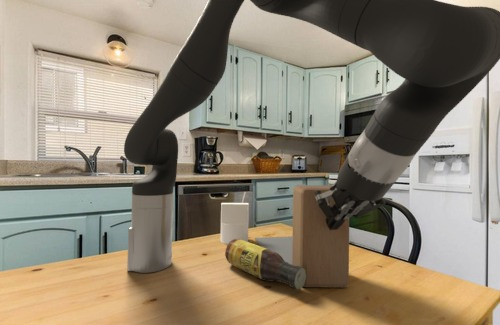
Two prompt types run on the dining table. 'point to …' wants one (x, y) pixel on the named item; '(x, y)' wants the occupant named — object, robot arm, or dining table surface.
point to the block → (318, 241)
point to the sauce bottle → (264, 263)
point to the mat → (278, 246)
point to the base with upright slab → (234, 221)
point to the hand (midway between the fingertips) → (331, 225)
